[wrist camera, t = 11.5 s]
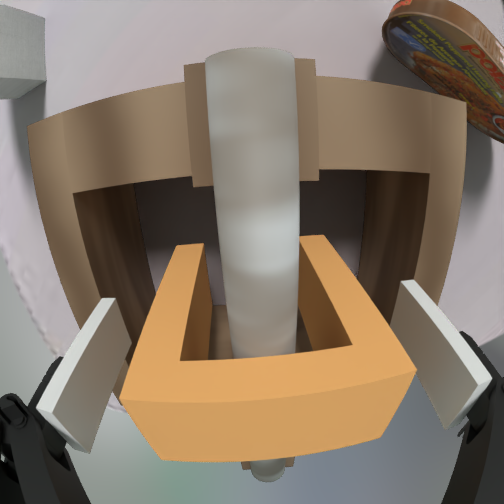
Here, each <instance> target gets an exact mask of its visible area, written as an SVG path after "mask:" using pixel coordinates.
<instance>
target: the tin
mask: <svg viewBox="0 0 504 504" xmlns="http://www.w3.org/2000/svg"><path fill="white" fill-rule="evenodd" d="M382 37H383V40H384V42H385V44H386V46H387V47H388V49H389V50H390V51H391V53H392V54H393V55H394V56H395V57H396V58H397V59H398V60H399V61H400V62H401V63H402V64H403V65H405V66H406V67H407V68H408V69H410V70H411V71H412V72H414V73H415V74H416V75H418V76H419V77H420V78H421V79H423V80H424V81H425V82H426V83H427V84H429V85H430V86H431V87H432V88H433V89H435V90H436V91H437V92H438V93H439V94H440V95H442V96H446V97H449V98H453V99H456V100H460V101H463V102H466V111H467V121H469V122H470V123H471V124H472V125H473V126H475V127H476V128H477V129H479V130H480V131H481V132H483V133H484V134H486V135H488V136H489V137H491V138H493V139H495V140H497V141H499V142H501V143H503V144H504V47H503V46H502V45H501V43H500V42H499V41H498V40H497V39H496V38H495V36H494V35H493V34H492V33H491V32H490V31H489V30H488V29H487V28H486V26H485V25H484V24H483V23H482V22H481V21H480V20H479V19H478V18H476V17H475V16H474V15H473V14H471V13H470V12H469V11H467V10H466V9H464V8H462V7H461V6H459V5H457V4H455V3H453V2H451V1H448V0H400V1H398V2H397V3H396V4H395V5H394V6H393V8H392V10H391V12H390V14H389V17H388V19H387V20H386V21H385V22H384V24H383V26H382Z"/></svg>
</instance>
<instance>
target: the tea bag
mask: <svg viewBox="0 0 504 504" xmlns="http://www.w3.org/2000/svg"><path fill="white" fill-rule="evenodd" d="M45 81H47V80H46V66H45V18H43V17H40V16H37V15H35V14H32V13H29V12H26V11H23V10H20V9H17V8H13V7H10V6H6V5H0V99H18V98H20V97H21V96H23V95H24V94H26V93H27V92H29V91H30V90H32V89H34V88H35V87H37V86H38V85H40V84H42V83H43V82H45Z"/></svg>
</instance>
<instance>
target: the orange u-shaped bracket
mask: <svg viewBox="0 0 504 504" xmlns="http://www.w3.org/2000/svg"><path fill="white" fill-rule="evenodd" d="M298 307H299V309H300V312H301V315H302V318H303V321H304V324H305V327H306V330H307V334H308V337H309V340H310V343H311V346H312V349H313V351H311V352H304V353H295V354H287V355H277V356H267V357H255V358H242V359H226V360H208V352H209V339H210V327H211V316H212V298H211V292H210V285H209V278H208V271H207V264H206V256H205V249H204V243H200V244H187V245H177V246H176V248H175V250H174V252H173V255H172V257H171V259H170V262H169V264H168V267H167V269H166V271H165V274H164V276H163V279H162V281H161V283H160V286H159V288H158V291H157V293H156V296H155V298H154V301H153V303H152V306H151V309H150V311H149V314H148V316H147V319H146V322H145V324H144V327H143V330H142V332H141V335H140V338H139V341H138V343H137V346H136V349H135V352H134V355H133V358H132V361H131V364H130V366H129V369H128V372H127V375H126V379H125V382H124V385H123V388H122V391H121V394H120V397H119V400H120V401H121V403H122V405H123V406H124V408H125V409H126V411H127V412H128V414H129V415H130V417H131V418H132V420H133V421H134V423H135V424H136V426H137V427H138V429H139V430H140V432H141V433H142V435H143V436H144V437H145V439H146V440H147V441H148V443H149V444H150V446H151V447H152V448H153V450H154V451H155V452H156V453H157V455H158V456H159V457H160V459H161V460H171V461H187V462H188V461H189V462H240V461H257V460H269V459H278V458H287V457H294V456H301V455H307V454H313V453H318V452H324V451H329V450H334V449H338V448H343V447H347V446H352V445H355V444H359V443H363V442H367V441H371V440H374V439H377V438H380V437H381V436H382V434H383V433H384V431H385V429H386V428H387V426H388V424H389V423H390V421H391V419H392V417H393V416H394V414H395V412H396V410H397V409H398V407H399V405H400V403H401V401H402V399H403V397H404V396H405V393H406V392H407V390H408V388H409V386H410V384H411V381H412V379H413V377H414V375H415V373H416V371H417V369H416V367H415V365H414V364H413V362H412V361H411V359H410V357H409V356H408V354H407V353H406V351H405V350H404V348H403V346H402V345H401V343H400V342H399V340H398V339H397V337H396V336H395V334H394V333H393V331H392V329H391V328H390V326H389V325H388V323H387V322H386V320H385V319H384V318H383V316H382V315H381V313H380V312H379V310H378V309H377V307H376V306H375V304H374V303H373V301H372V300H371V299H370V297H369V296H368V294H367V293H366V291H365V290H364V289H363V287H362V286H361V284H360V283H359V282H358V280H357V279H356V277H355V276H354V275H353V273H352V272H351V271H350V269H349V268H348V266H347V265H346V264H345V262H344V261H343V260H342V258H341V257H340V256H339V254H338V253H337V252H336V250H335V249H334V248H333V246H332V245H331V244H330V242H329V241H328V240H327V239H326V237H325V236H324V235H311V236H299V279H298Z"/></svg>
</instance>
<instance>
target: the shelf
mask: <svg viewBox="0 0 504 504" xmlns="http://www.w3.org/2000/svg"><path fill="white" fill-rule="evenodd" d="M184 80H185V82H181V83H175V84H169V85H163V86H157V87H152V88H147V89H142V90H138V91H133V92H129V93H125V94H121V95H117V96H113V97H109V98H105V99H102V100H98V101H95V102H92V103H88V104H85V105H82V106H79V107H76V108H73V109H70V110H67V111H64V112H61V113H59V114H56V115H53V116H51V117H48V118H46V119H43V120H41V121H38V122H36V123H33V124H31V125H29V126H27V133H28V143H29V152H30V160H31V167H32V173H33V179H34V185H35V190H36V195H37V200H38V205H39V209H40V214H41V218H42V222H43V226H44V230H45V233H46V237H47V241H48V244H49V247H50V251H51V254H52V257H53V260H54V264H55V267H56V270H57V272H58V275H59V278H60V281H61V284H62V287H63V289H64V292H65V294H66V297H67V300H68V302H69V305H70V307H71V310H72V312H73V314H74V317H75V319H76V321H77V324H78V326H79V328H80V330H81V329H82V327H83V326H84V324H85V323H86V321H87V320H88V318H89V317H90V315H91V314H92V312H93V311H94V309H95V308H96V306H97V305H98V303H99V302H100V300H101V299H102V298H116V301H117V304H118V307H119V310H120V312H121V315H122V318H123V321H124V324H125V326H126V329H127V332H128V334H129V337H130V339H131V342H132V344H131V346H130V348H129V351H128V353H127V355H126V358H125V360H124V363H123V365H122V367H121V370H120V372H119V375H118V377H117V380H116V382H115V385H114V387H113V390H112V391H113V393H114V395H115V396H116V398H117V400H118V401H119V403H120V404H121V405H122V403H121V401H120V400H119V397H120V394H121V391H122V388H123V385H124V382H125V379H126V375H127V372H128V369H129V366H130V364H131V361H132V358H133V355H134V352H135V349H136V346H137V343H138V341H139V338H140V335H141V332H142V330H143V327H144V324H145V322H146V319H147V316H148V314H149V311H150V309H151V306H152V303H153V301H154V298H155V296H156V293H155V289H154V285H153V281H152V277H151V273H150V269H149V264H148V260H147V255H146V251H145V246H144V241H143V236H142V231H141V226H140V220H139V215H138V209H137V203H136V197H135V191H134V184H133V183H137V182H144V181H152V180H160V179H168V178H177V177H186V176H192V181H193V187H202V186H214V195H215V206H216V216H217V226H218V236H219V245H220V255H221V264H222V273H223V281H224V290H225V298H226V305H214V306H212V316H211V327H210V339H209V352H208V360H226V359H242V358H255V357H267V356H277V355H287V354H295V353H304V352H311V351H313V349H312V346H311V343H310V340H309V337H308V334H307V330H306V327H305V324H304V321H303V318H302V315H301V312H300V309H299V307H298V279H299V181H319V169H355V170H367V183H366V201H365V215H364V227H363V238H362V247H361V256H360V264H359V272H358V282H359V283H360V284H361V286H362V287H363V289H364V290H365V291H366V293H367V294H368V296H369V297H370V299H371V300H372V301H373V303H374V304H375V306H376V307H377V309H378V310H379V312H380V313H381V315H382V316H383V318H384V319H385V320H386V322H387V323H388V325H389V326H390V323H391V319H392V315H393V311H394V308H395V304H396V299H397V295H398V291H399V286H400V282H401V281H406V280H415V282H416V283H417V284H418V285H419V286H420V287H421V288H422V289H423V290H424V292H425V293H426V294H427V295H428V296H429V297H430V298H431V300H432V301H433V302H434V303H435V304H436V305H438V302H439V299H440V296H441V292H442V289H443V286H444V282H445V278H446V275H447V271H448V267H449V263H450V259H451V255H452V250H453V246H454V241H455V236H456V231H457V225H458V219H459V213H460V207H461V200H462V192H463V183H464V173H465V160H466V138H467V111H466V102H463V101H460V100H456V99H453V98H449V97H446V96H442V95H438V94H434V93H430V92H426V91H422V90H417V89H413V88H408V87H403V86H398V85H392V84H386V83H380V82H373V81H366V80H358V79H349V78H338V77H325V76H316V68H315V59H298V58H294V55H293V54H292V53H290V52H287V51H284V50H280V49H274V48H261V47H252V48H239V49H232V50H226V51H222V52H219V53H216V54H213V55H211V56H209V57H208V58H206V60H205V62H204V63H196V64H189V65H184ZM122 406H123V405H122ZM294 458H295V456H294V457H287V458H278V459H269V460H257V461H241V464H242V468H243V470H247V469H251V471H252V474H253V476H254V477H255V478H256V479H258V480H260V481H263V482H273V481H276V480H277V479H279V478H280V477H281V476H282V475H283V473H284V471H285V467H291V466H293V464H294Z"/></svg>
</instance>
